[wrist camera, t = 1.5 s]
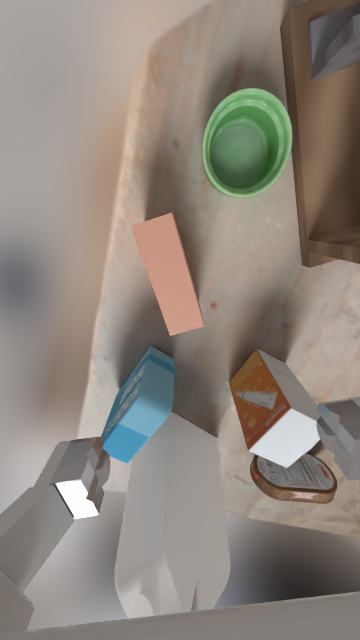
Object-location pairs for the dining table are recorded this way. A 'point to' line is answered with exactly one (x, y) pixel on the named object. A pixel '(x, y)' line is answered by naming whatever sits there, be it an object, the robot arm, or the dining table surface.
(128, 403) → the data package
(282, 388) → the small box
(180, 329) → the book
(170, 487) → the milk
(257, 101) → the ramekin
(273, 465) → the tin
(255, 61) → the dining table surface
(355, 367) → the dining table surface
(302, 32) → the shelf stand
